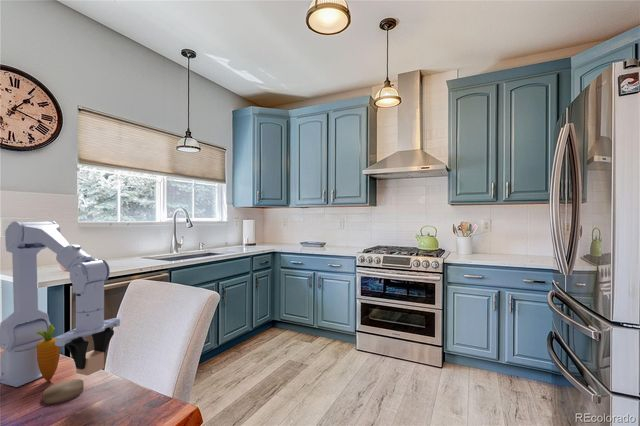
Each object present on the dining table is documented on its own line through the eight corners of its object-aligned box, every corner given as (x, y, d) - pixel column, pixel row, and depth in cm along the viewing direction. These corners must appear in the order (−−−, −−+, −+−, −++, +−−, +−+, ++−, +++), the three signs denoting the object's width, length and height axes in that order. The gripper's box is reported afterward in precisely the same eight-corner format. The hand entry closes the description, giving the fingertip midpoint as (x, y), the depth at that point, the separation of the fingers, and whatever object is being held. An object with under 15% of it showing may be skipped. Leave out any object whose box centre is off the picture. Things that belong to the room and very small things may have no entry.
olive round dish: (35, 401, 78) (35, 392, 78) (70, 384, 85) (70, 377, 85) (56, 407, 75) (56, 398, 75) (91, 389, 82) (91, 381, 82)
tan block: (76, 373, 77) (76, 356, 77) (92, 365, 81) (92, 350, 81) (87, 375, 76) (87, 358, 76) (104, 368, 80) (104, 352, 80)
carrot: (46, 386, 83) (46, 329, 84) (31, 384, 84) (31, 328, 85) (65, 377, 88) (65, 323, 89) (50, 375, 89) (50, 322, 90)
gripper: (69, 319, 70) (69, 381, 70) (128, 303, 84) (128, 354, 84) (48, 316, 73) (48, 376, 73) (109, 300, 86) (109, 350, 86)
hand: (90, 364), depth 78 cm, fingers closed on tan block, 4 cm apart
